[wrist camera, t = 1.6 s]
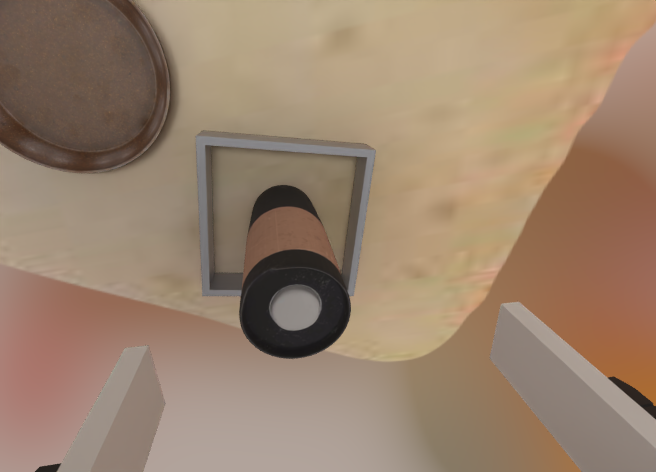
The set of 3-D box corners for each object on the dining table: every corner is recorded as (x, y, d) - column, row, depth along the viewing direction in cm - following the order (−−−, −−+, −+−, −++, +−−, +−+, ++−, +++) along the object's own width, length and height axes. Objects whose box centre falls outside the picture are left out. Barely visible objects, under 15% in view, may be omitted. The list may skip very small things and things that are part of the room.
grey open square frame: (207, 278, 43) (202, 296, 39) (202, 130, 36) (195, 135, 32) (346, 279, 46) (353, 296, 42) (365, 144, 39) (375, 150, 36)
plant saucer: (208, 132, 36) (203, 136, 34) (48, 191, 36) (30, 200, 33) (111, -74, 29) (95, -91, 26) (-91, -2, 29) (-129, -12, 26)
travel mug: (312, 244, 43) (344, 360, 25) (249, 241, 42) (235, 361, 24) (319, 185, 40) (361, 266, 22) (251, 179, 39) (238, 262, 21)
